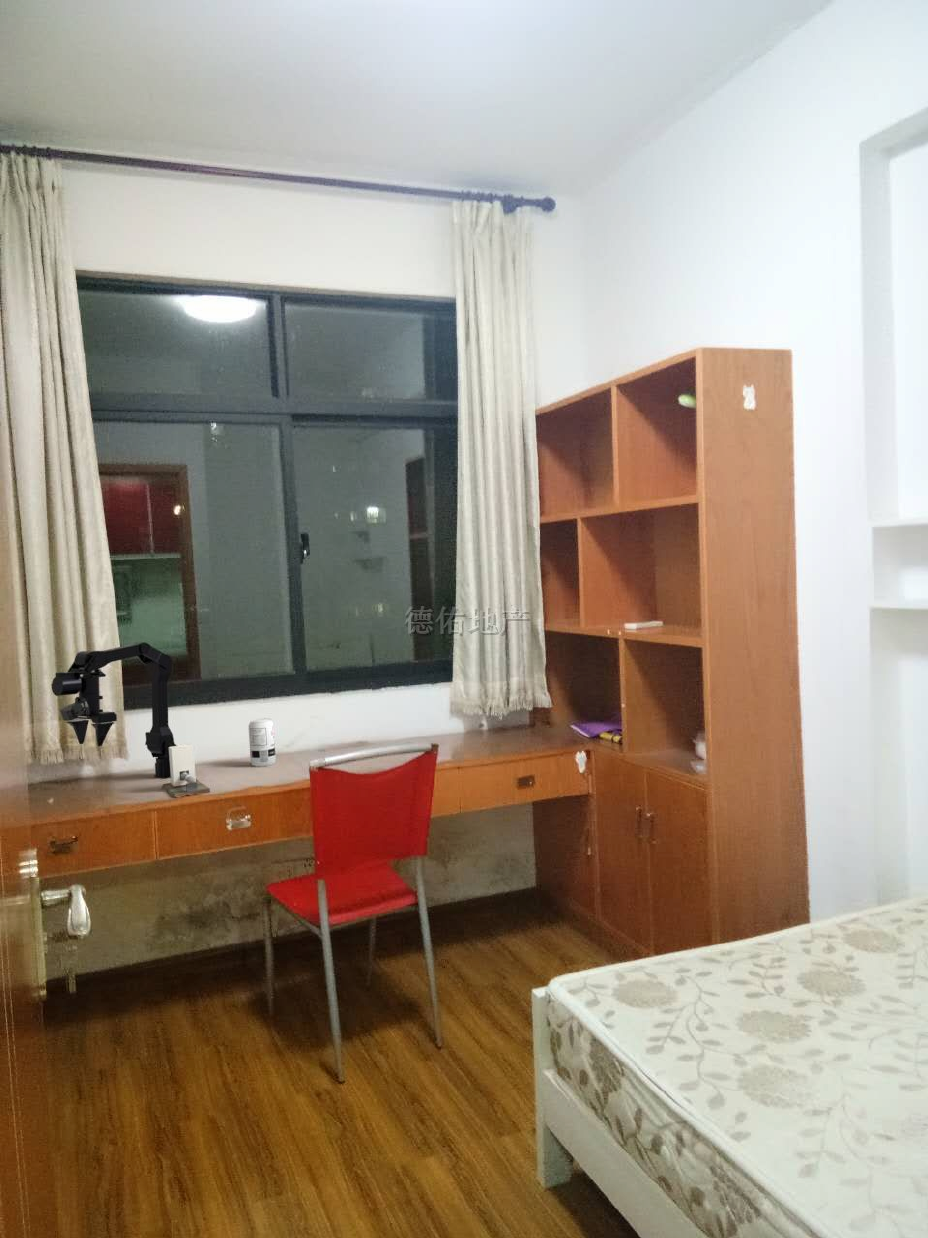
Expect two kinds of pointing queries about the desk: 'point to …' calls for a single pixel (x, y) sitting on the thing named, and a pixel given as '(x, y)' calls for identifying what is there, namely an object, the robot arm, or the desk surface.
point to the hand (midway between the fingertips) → (90, 745)
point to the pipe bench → (186, 786)
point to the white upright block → (181, 763)
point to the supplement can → (262, 742)
